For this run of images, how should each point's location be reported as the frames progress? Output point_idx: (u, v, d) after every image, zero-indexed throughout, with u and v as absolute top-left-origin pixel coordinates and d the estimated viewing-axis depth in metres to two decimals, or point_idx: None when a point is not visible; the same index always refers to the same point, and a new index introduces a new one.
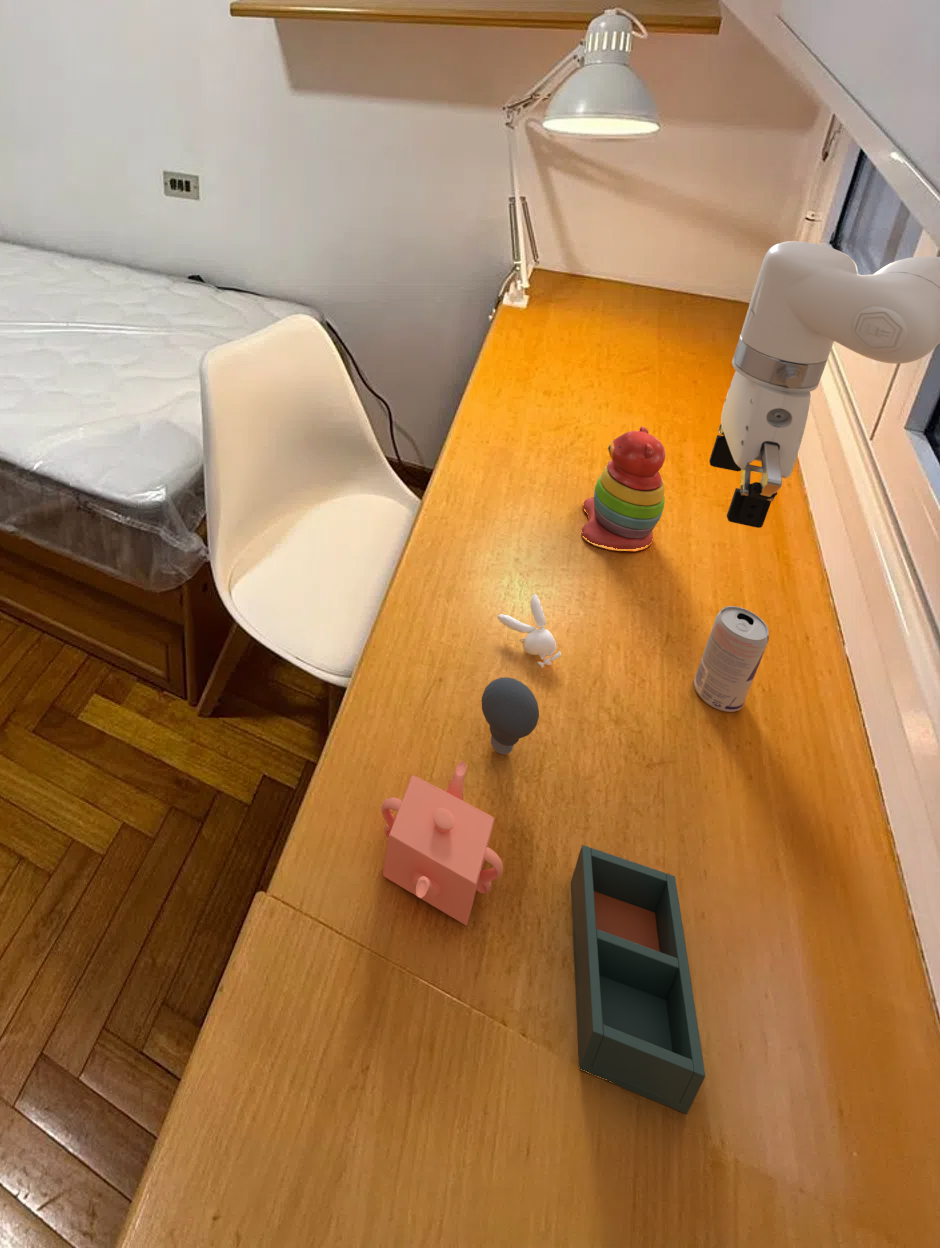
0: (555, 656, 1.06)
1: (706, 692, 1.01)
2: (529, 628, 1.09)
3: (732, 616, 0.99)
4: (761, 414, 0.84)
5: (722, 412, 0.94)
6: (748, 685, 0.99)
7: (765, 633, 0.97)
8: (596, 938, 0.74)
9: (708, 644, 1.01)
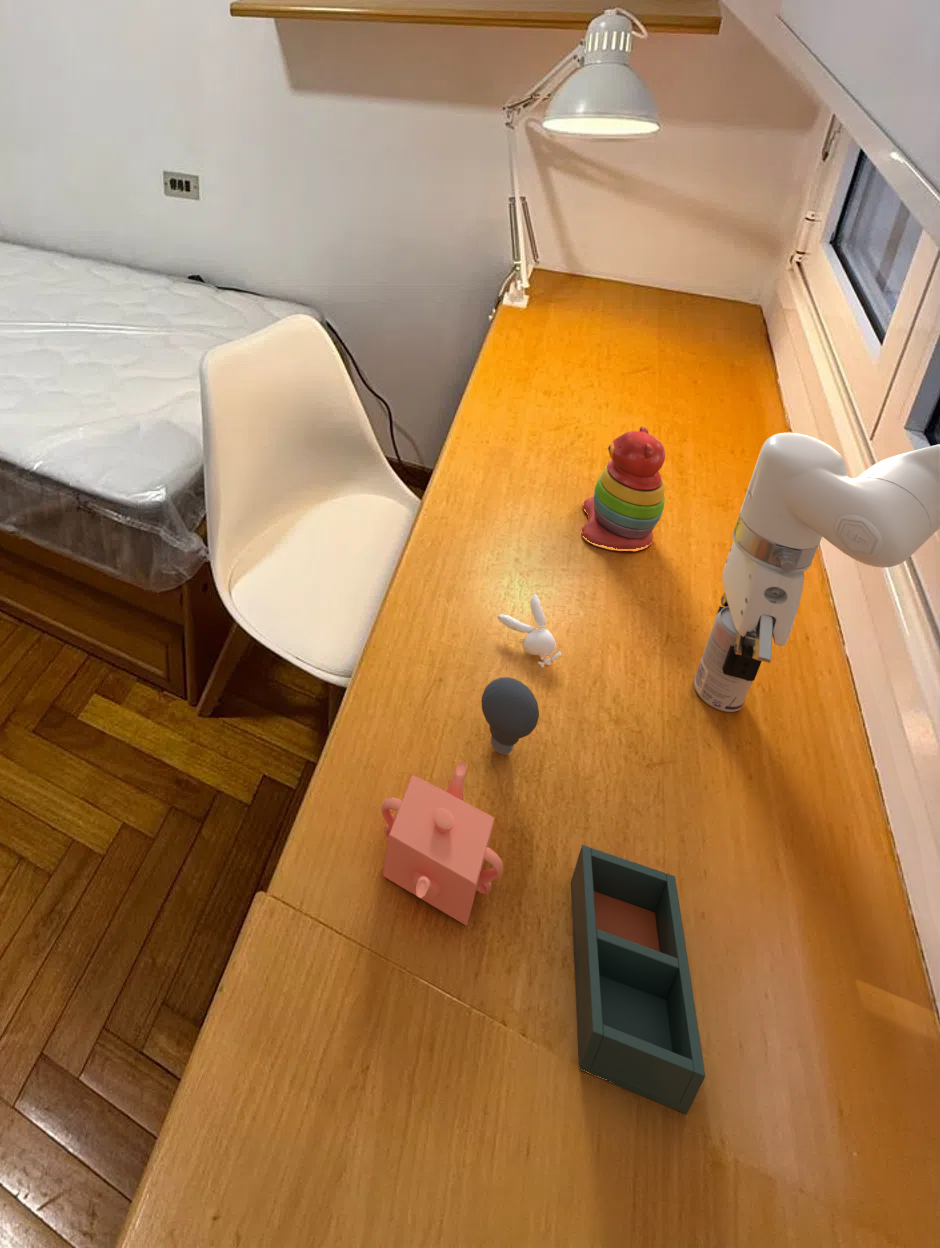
0: (555, 656, 1.06)
1: (706, 692, 1.01)
2: (529, 628, 1.09)
3: None
4: (759, 590, 0.91)
5: (723, 571, 1.01)
6: (748, 685, 0.99)
7: None
8: (596, 938, 0.74)
9: (708, 644, 1.01)
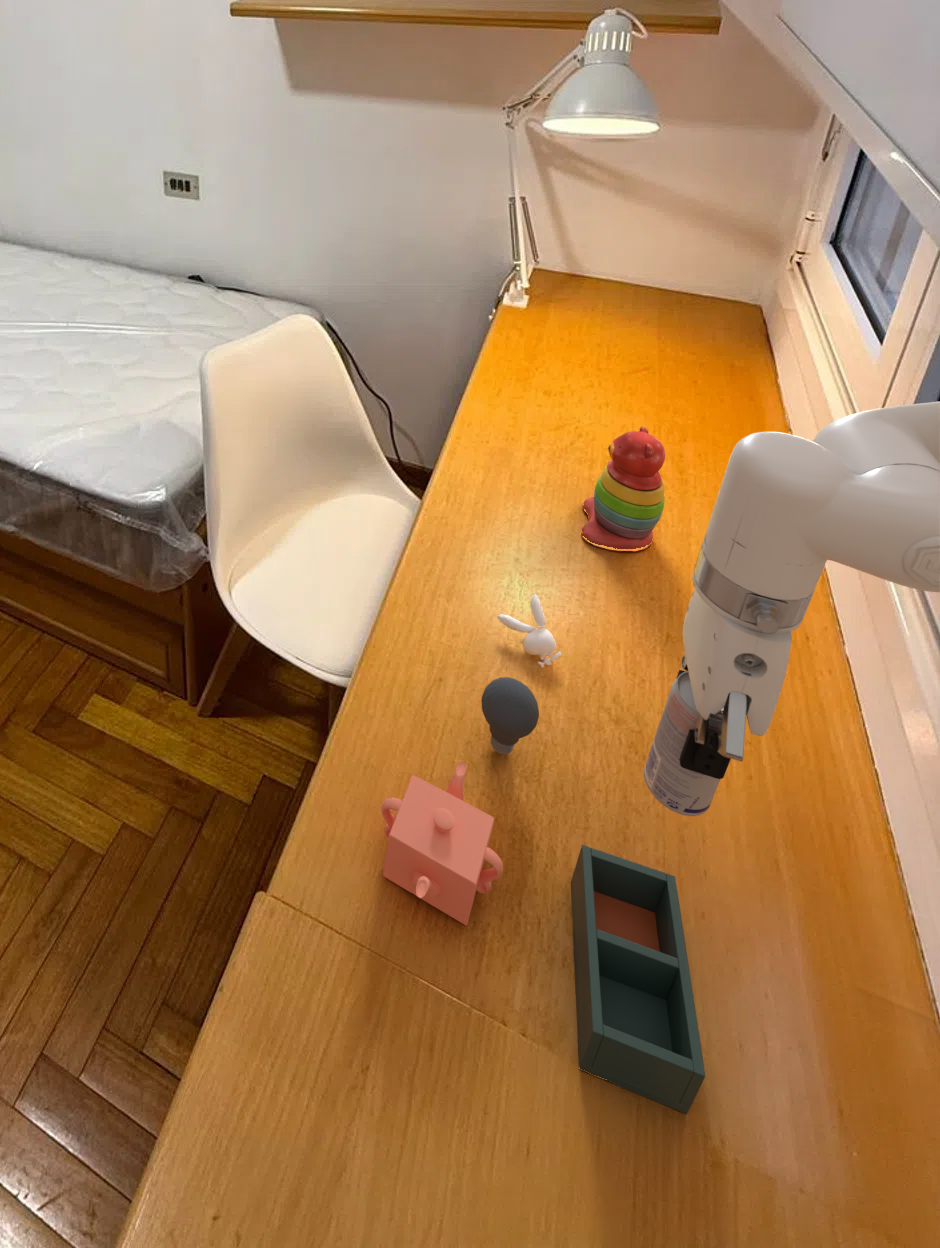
0: (555, 656, 1.06)
1: (659, 787, 0.74)
2: (529, 628, 1.09)
3: None
4: (727, 657, 0.64)
5: (684, 622, 0.74)
6: (715, 781, 0.71)
7: None
8: (596, 938, 0.74)
9: (661, 722, 0.73)
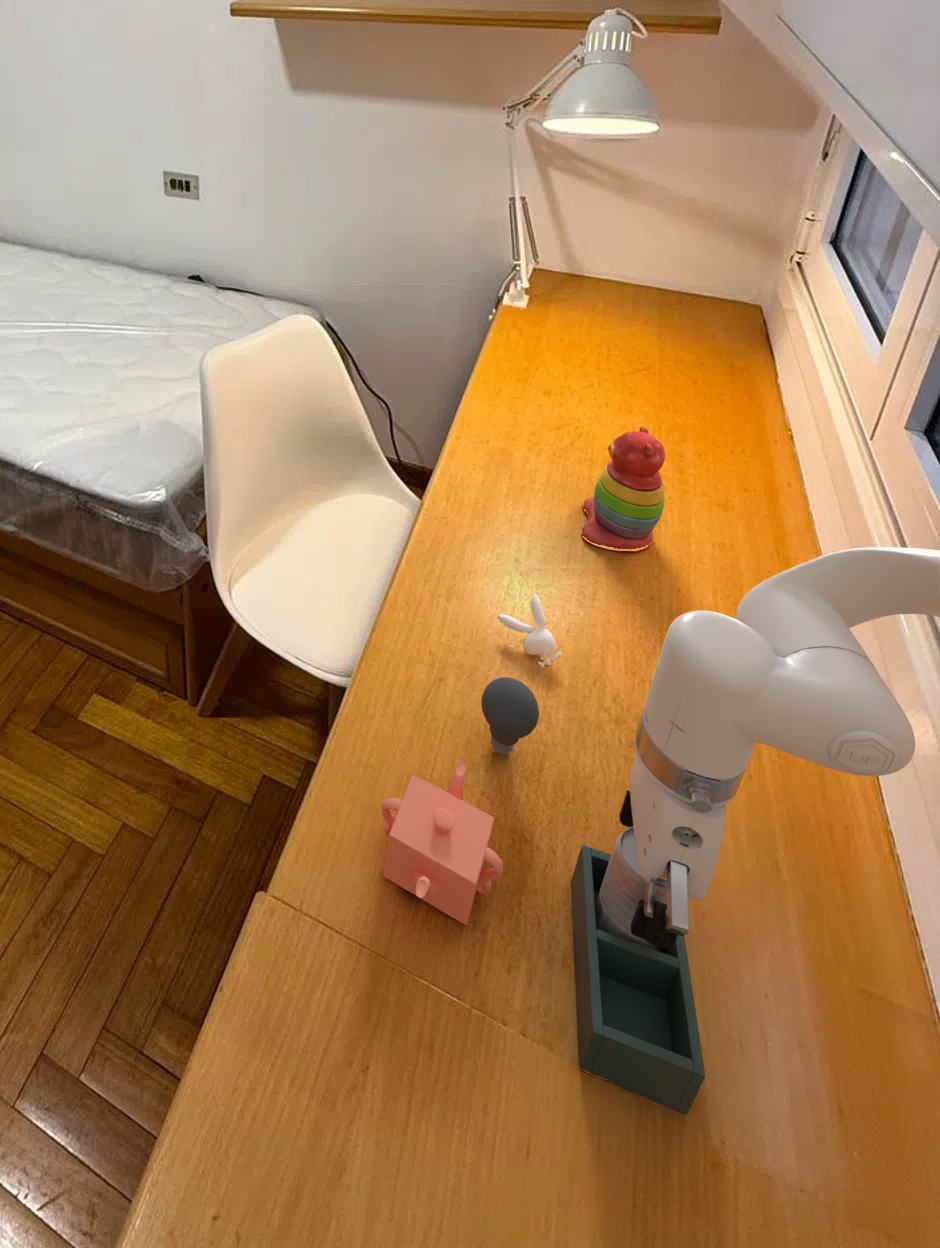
0: (555, 656, 1.06)
1: None
2: (529, 628, 1.09)
3: None
4: (665, 829, 0.66)
5: (630, 772, 0.76)
6: None
7: None
8: (596, 938, 0.74)
9: (606, 875, 0.76)
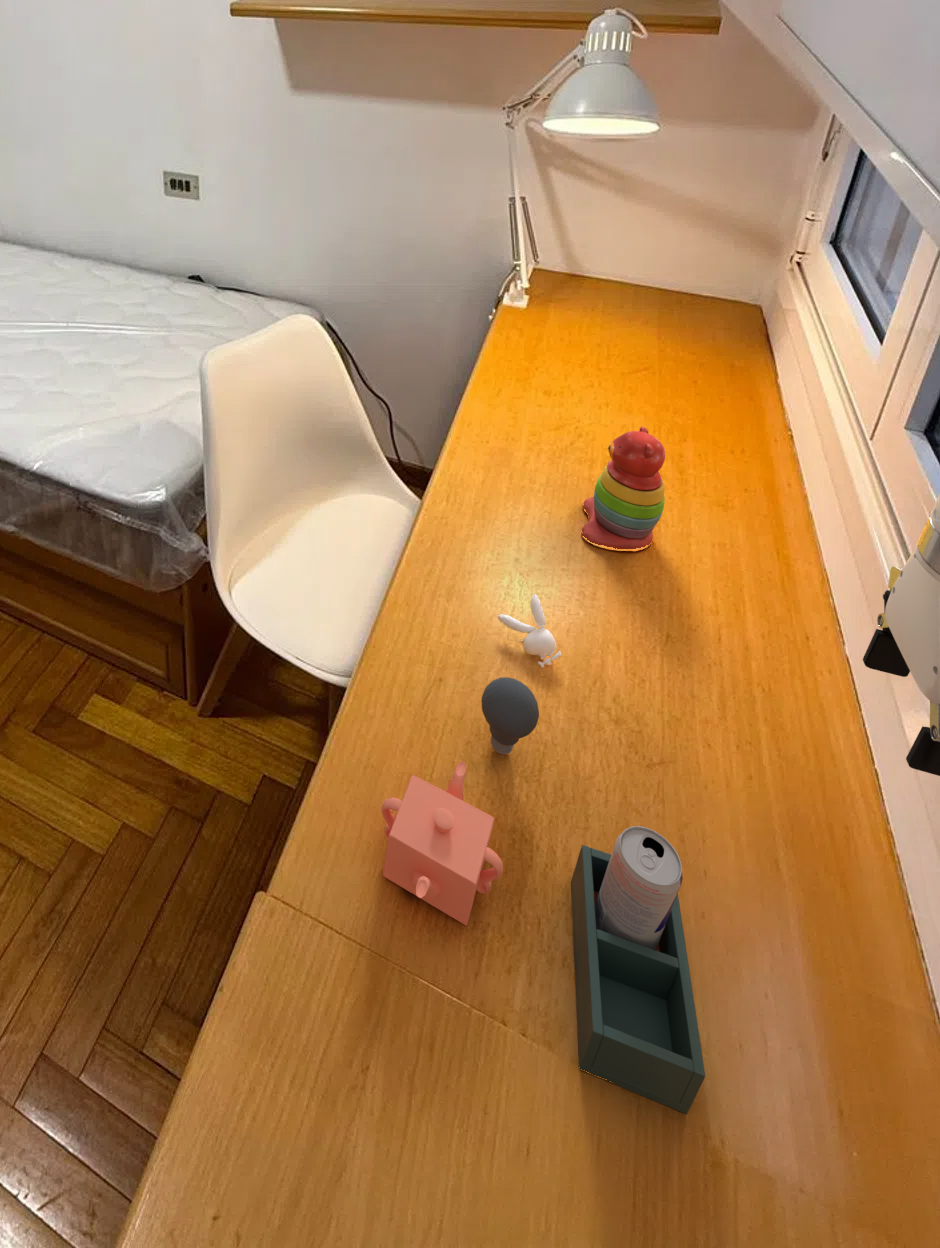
0: (555, 656, 1.06)
1: None
2: (529, 628, 1.09)
3: (636, 843, 0.75)
4: None
5: (888, 604, 0.70)
6: (657, 936, 0.74)
7: (677, 872, 0.72)
8: (596, 938, 0.74)
9: (606, 875, 0.76)
